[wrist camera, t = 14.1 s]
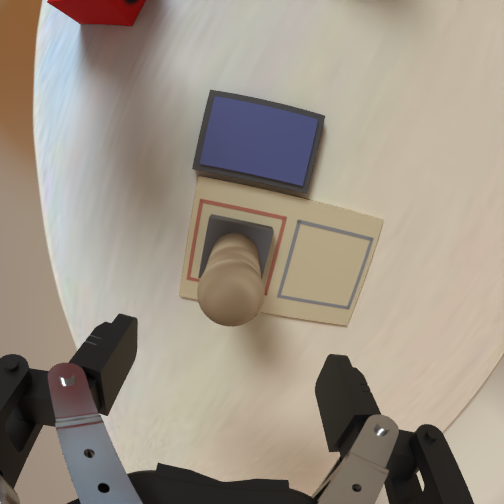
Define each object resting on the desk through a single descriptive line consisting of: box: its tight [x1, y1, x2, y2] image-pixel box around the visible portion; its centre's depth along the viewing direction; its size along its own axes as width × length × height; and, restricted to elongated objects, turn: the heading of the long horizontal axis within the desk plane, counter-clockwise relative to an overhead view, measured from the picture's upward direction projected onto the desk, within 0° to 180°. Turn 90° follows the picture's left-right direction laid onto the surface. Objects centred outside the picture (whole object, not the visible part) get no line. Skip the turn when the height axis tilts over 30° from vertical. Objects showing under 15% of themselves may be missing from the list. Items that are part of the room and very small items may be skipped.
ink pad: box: [192, 90, 325, 194], centre depth 22 cm, size 9×6×1 cm
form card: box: [179, 176, 384, 326], centre depth 25 cm, size 16×11×1 cm, turn 77°
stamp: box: [197, 214, 274, 326], centre depth 20 cm, size 5×5×10 cm
